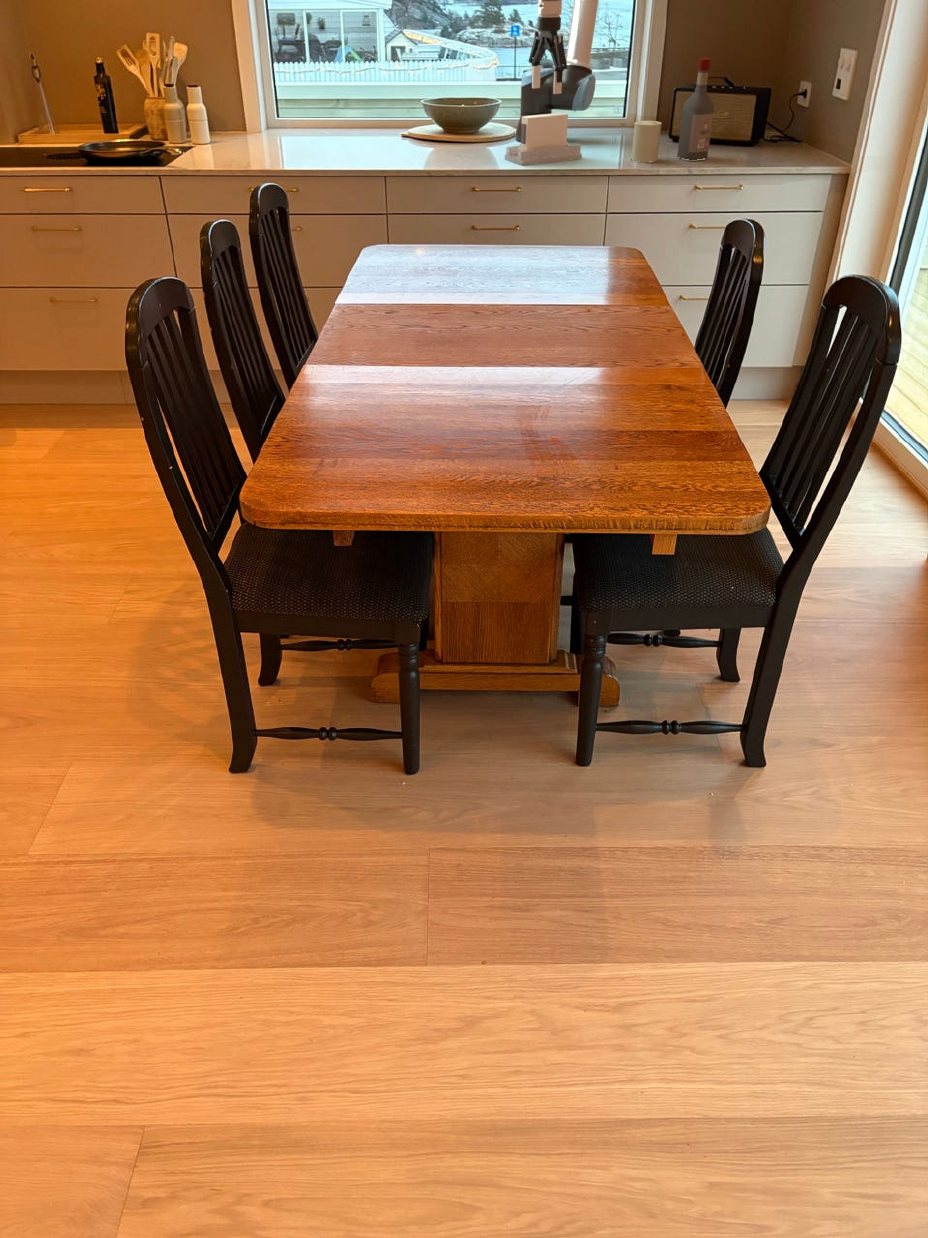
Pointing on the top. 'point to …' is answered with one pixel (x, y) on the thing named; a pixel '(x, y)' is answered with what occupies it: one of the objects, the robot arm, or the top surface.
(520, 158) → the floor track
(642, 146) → the can
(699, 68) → the liquor
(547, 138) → the door panel
